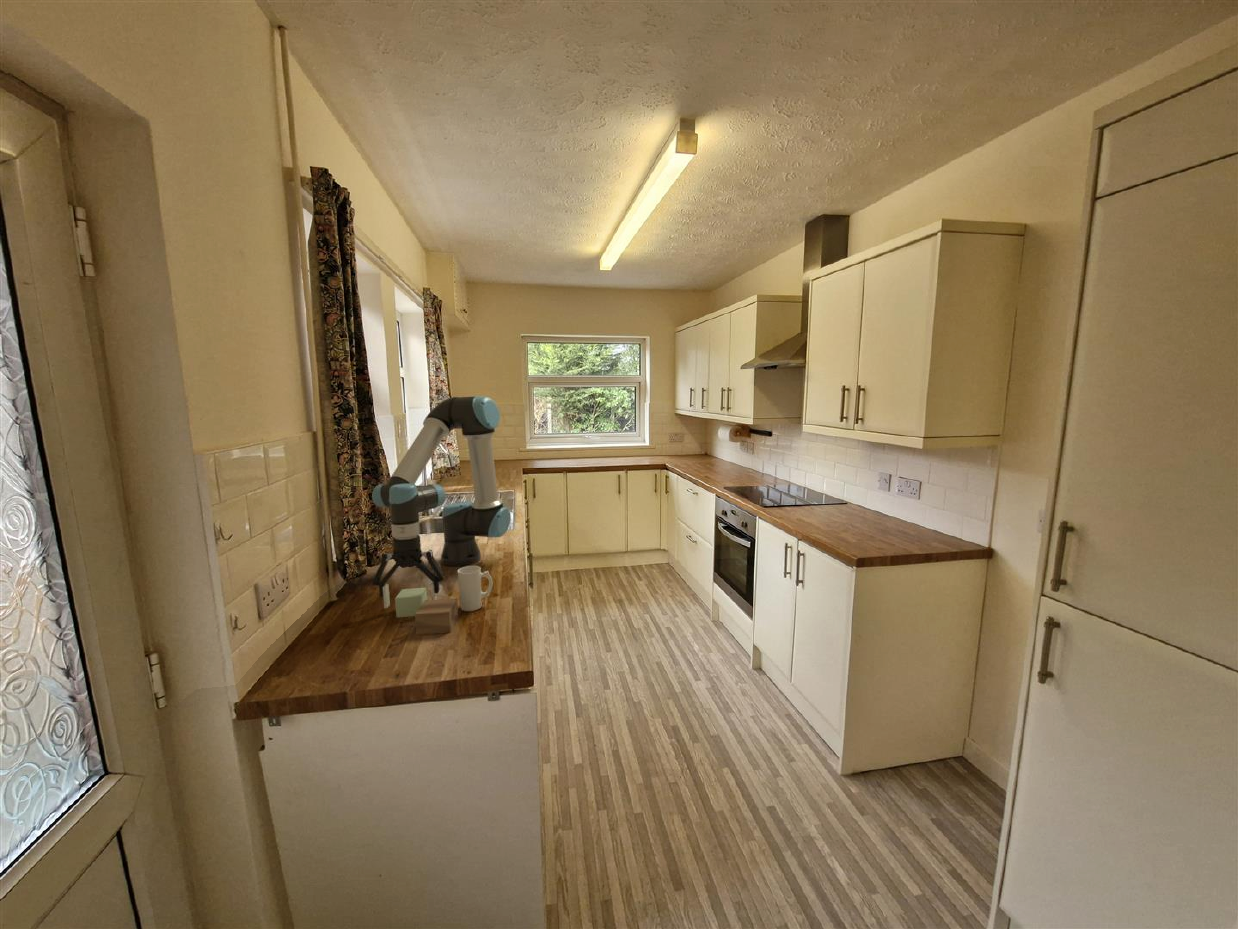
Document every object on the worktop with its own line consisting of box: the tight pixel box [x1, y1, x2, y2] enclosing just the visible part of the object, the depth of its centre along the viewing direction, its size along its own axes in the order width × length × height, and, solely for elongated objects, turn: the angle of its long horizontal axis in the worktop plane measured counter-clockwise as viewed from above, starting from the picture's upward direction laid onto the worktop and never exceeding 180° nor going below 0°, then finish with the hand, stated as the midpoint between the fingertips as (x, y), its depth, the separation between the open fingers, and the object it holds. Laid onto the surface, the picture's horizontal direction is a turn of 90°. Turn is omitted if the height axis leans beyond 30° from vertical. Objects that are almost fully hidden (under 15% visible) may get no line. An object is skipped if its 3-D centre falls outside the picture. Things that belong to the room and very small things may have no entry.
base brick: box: [414, 598, 459, 635], centre depth 133 cm, size 9×9×6 cm
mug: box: [457, 565, 494, 612], centre depth 145 cm, size 10×7×12 cm, turn 103°
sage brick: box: [394, 587, 428, 618], centre depth 143 cm, size 7×7×6 cm
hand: (411, 605), depth 143 cm, fingers open, 13 cm apart
